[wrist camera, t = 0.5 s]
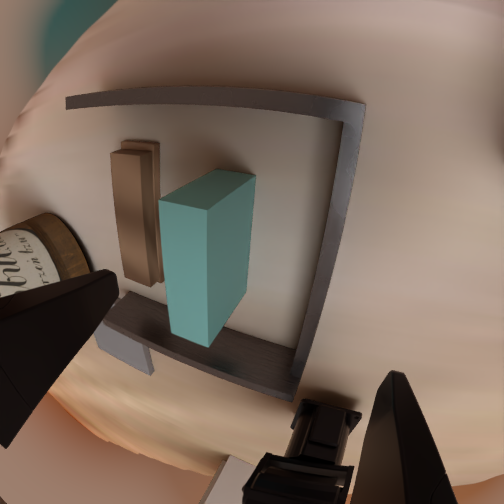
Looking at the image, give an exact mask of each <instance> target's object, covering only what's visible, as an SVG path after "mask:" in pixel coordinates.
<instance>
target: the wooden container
mask: <svg viewBox="0 0 504 504" xmlns="http://www.w3.org/2000/svg"><path fill="white" fill-rule="evenodd" d="M88 273H90V271H89V268H88V265H87V262H86V260H85V257H84V255H83V253H82V251H81V249H80V247H79V245H78V243H77V242H76V240H75V238H74V237H73V235H72V234H71V232H70V231H69V229H68V228H67V227H66V226H65V225H64V223H63V222H62V221H61V220H59V219H58V218H57V217H56V216H54V215H52V214H49V213H43V214H40V215H38V216H35V217H33V218H31V219H28V220H26V221H24V222H21V223H18V224H16V225H14V226H11V227H9V228H7V229H5V230H3V231H1V232H0V297H4V296H8V295H11V294H16V293H18V292H22V291H25V290H29V289H33V288H36V287H40V286H44V285H47V284H51V283H54V282H58V281H62V280H66V279H69V278H73V277H77V276H80V275H84V274H88Z"/></svg>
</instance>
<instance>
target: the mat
mask: <svg viewBox="0 0 504 504" xmlns="http://www.w3.org/2000/svg"><path fill="white" fill-rule="evenodd" d="M120 300H121V299H119V298H117V300H116V301H115V303H114V304H113V306H114V305H115V304H116V303H118V302H119V301H120ZM113 306H112V307H113ZM112 307H111V308H112ZM94 336H95V339H96V341H97V344H98V347H99V348H100V349H102V350H104V351H105V352H107V353H109V354H111V355H112V356H114V357H116V358H118V359H119V360H121V361H123V362H125V363H127V364H129V365H130V366H132V367H134V368H136V369H138V370H140V371H142V372H144V373H146V374H148V375H150V376H151V375H152V373H153V372H154V368H153V364H152V360H151V356H150V352H149V348H148V347H147V346H145V345H143V344H141V343H139V342H137V341H135V340H133V339H131V338H129V337H127V336H125V335H123V334H121V333H119V332H117V331H115V330H113V329H111V328H109V327H107V326H105V325H104V324H103V321H102V322H101V323H100V325H99V326H98V328H97V329H96V330H95V332H94Z"/></svg>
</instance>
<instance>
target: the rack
mask: <svg viewBox="0 0 504 504" xmlns="http://www.w3.org/2000/svg"><path fill="white" fill-rule="evenodd" d="M134 104H195V105H217V106H232V107H244V108H254V109H264V110H273V111H281V112H288V113H295V114H302V115H308V116H314V117H320V118H326V119H331V120H337V121H342V122H344V123H343V130H342V137H341V144H340V150H339V156H338V163H337V169H336V174H335V180H334V186H333V191H332V197H331V202H330V208H329V213H328V218H327V223H326V228H325V233H324V238H323V242H322V247H321V252H320V256H319V261H318V265H317V270H316V274H315V279H314V283H313V287H312V292H311V296H310V300H309V304H308V308H307V312H306V316H305V320H304V324H303V328H302V332H301V335H300V339H299V343H298V347H297V350H294V349H291V348H287V347H284V346H281V345H278V344H274V343H271V342H268V341H265V340H262V339H259V338H255V337H252V336H249V335H246V334H243V333H240V332H237V331H234V330H231V329H228V328H225V327H222V329H221V330H220V332H219V333H218V334H217V336H216V337H215V339H214V340H213V342H212V343H211V345H210V346H209V348H208V347H205V346H203V345H200V344H198V343H195V342H193V341H190V340H188V339H185V338H183V337H180V336H178V335H175V334H173V333H171V327H170V320H169V312H168V306H166V305H163V304H161V303H158V302H156V301H153V300H151V299H148V298H146V297H143V296H141V295H138V294H136V293H133V292H131V291H130V292H129V293H128V294H126V295H125V296H124V297H123V298H122V299H121V300H120V301H119V302H118V303H116V304H115V305H114V306H113V307H112V308H111V309H110V310H109V311H108V313H107V314H106V316H105V317H104V319H103V320H102V321H103V324H104V325H105V326H107V327H109V328H111V329H113V330H115V331H117V332H119V333H121V334H123V335H125V336H127V337H129V338H131V339H133V340H135V341H137V342H139V343H141V344H143V345H145V346H147V347H149V348H151V349H153V350H155V351H158V352H160V353H162V354H164V355H166V356H169V357H171V358H173V359H175V360H178V361H180V362H182V363H185V364H187V365H189V366H192V367H194V368H197V369H199V370H201V371H204V372H206V373H209V374H211V375H214V376H217V377H219V378H222V379H224V380H227V381H230V382H232V383H235V384H238V385H241V386H243V387H246V388H249V389H252V390H255V391H258V392H261V393H264V394H267V395H270V396H273V397H276V398H279V399H283V400H286V401H289V402H293V399H294V396H295V394H296V391H297V388H298V385H299V382H300V379H301V377H302V374H303V371H304V368H305V365H306V362H307V359H308V356H309V353H310V349H311V346H312V343H313V340H314V337H315V333H316V330H317V327H318V323H319V320H320V316H321V313H322V310H323V306H324V302H325V299H326V295H327V292H328V288H329V284H330V281H331V277H332V273H333V269H334V265H335V261H336V257H337V253H338V249H339V245H340V241H341V236H342V232H343V228H344V223H345V219H346V214H347V210H348V205H349V200H350V196H351V191H352V186H353V180H354V175H355V170H356V165H357V159H358V153H359V148H360V142H361V136H362V129H363V123H364V116H365V109H366V104H362V103H357V102H352V101H347V100H341V99H336V98H330V97H324V96H318V95H311V94H304V93H296V92H288V91H279V90H269V89H257V88H243V87H222V86H166V87H146V88H132V89H120V90H111V91H102V92H95V93H88V94H81V95H75V96H69V97H66V110H68V109H77V108H87V107H99V106H113V105H134Z"/></svg>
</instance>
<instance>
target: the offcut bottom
mask: <svg viewBox="0 0 504 504" xmlns="http://www.w3.org/2000/svg"><path fill="white" fill-rule="evenodd" d="M121 149H132V150H142V151H151V152H152V166H153V195H154V214H155V231H156V244H157V257H158V268H159V278H160V279H159V280H158V281H157V282H159V283H162V282H163V281H164V280H165V278H164V268H163V258H162V246H161V233H160V219H159V202H158V200H159V199H160V143H153V142H142V141H129V140H126V141H123V142H121Z"/></svg>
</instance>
